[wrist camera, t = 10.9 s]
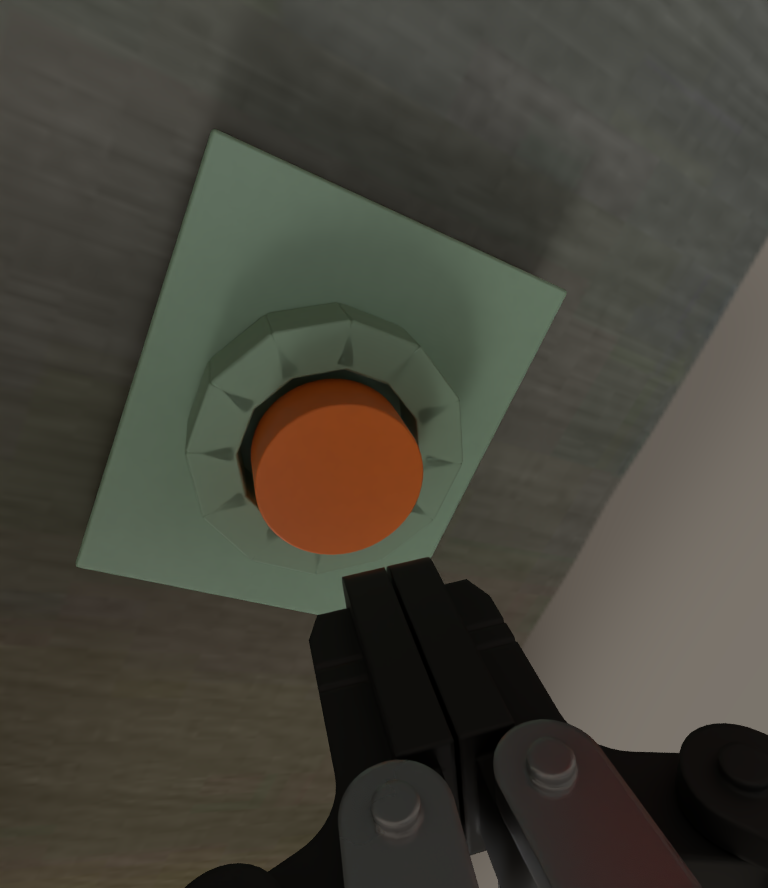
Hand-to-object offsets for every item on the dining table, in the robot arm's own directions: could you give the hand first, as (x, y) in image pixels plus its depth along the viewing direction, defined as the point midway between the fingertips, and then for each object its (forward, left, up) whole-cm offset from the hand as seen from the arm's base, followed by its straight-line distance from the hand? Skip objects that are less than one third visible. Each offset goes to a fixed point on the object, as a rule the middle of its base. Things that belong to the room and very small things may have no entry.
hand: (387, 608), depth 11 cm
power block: (0, 0, -10) cm, 10 cm away
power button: (0, 0, -7) cm, 7 cm away
